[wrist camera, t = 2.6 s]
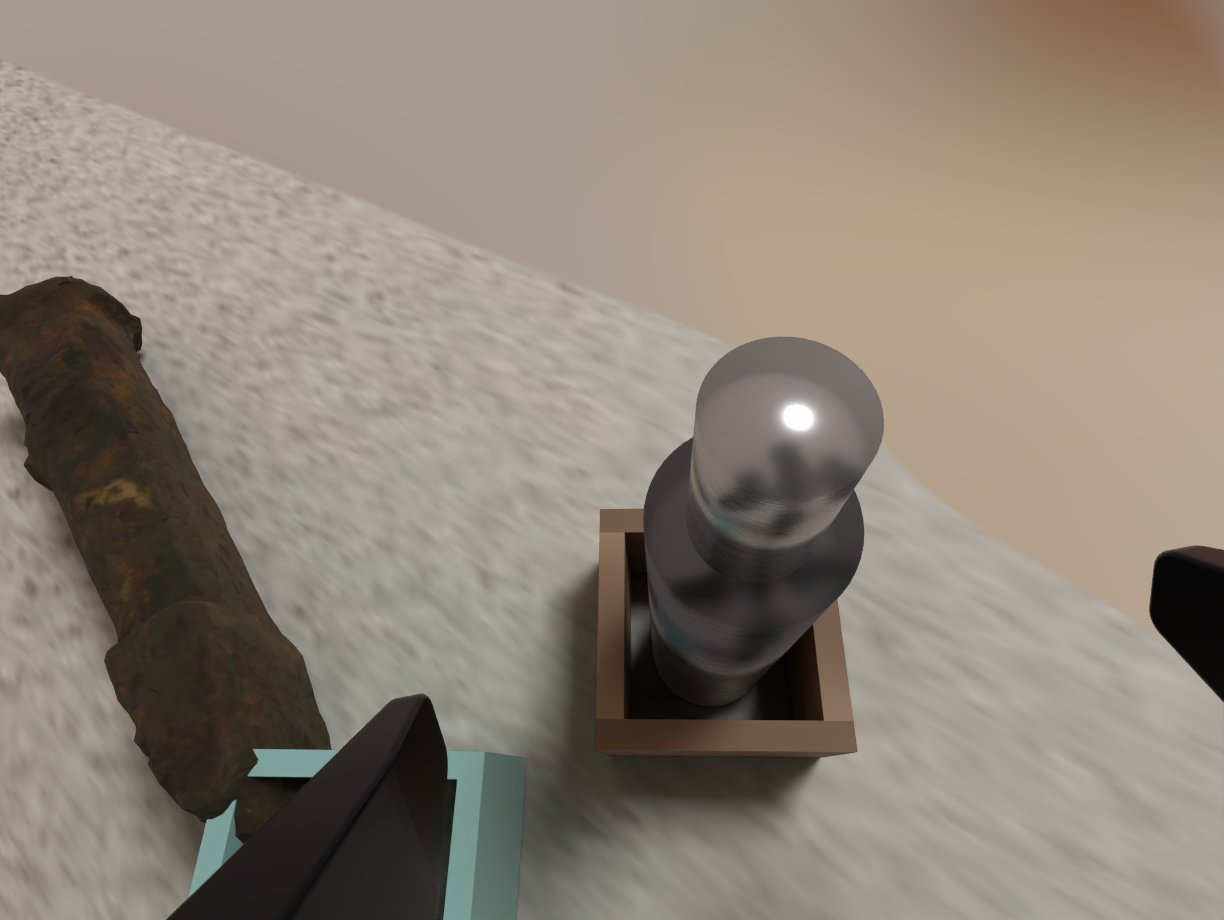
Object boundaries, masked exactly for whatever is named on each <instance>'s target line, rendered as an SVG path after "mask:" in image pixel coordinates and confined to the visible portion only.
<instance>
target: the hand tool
mask: <svg viewBox="0 0 1224 920" xmlns="http://www.w3.org/2000/svg"><path fill="white" fill-rule="evenodd" d="M141 334H142V326H141V321H140V318H138V317H136V316H133V315H131V314H130V313H129V311H128V310H127V309H126V308H125V306H124V305H123V304H122V303H121V302H119V301H118V300H117V299H115V298H114V297H113V296H111V295H110V294H109V293H107V292H106V291H105V290H104V289H102V288H101V287H98V286H95V285H91V284H89V283H87V282H85V281H84V280H82V279H75V278H73V277H72V276H70V277H54V278H51V279H48V280H45V281H42V282H39V283H37V284H33V285H29V286H26V287H24V288H22V289H20V290H18V291H16V292H14V293H12V294H9V295H0V372H1V374H2V375H3V376H4V377H5V378H6V381H7V383H8V386H9V389H10V391H11V393H12V395H13V397H14V399H15V403H16V405H17V407H18V408H19V410H20V412H21V414H22V416H23V418H24V421H25V424H26V427H27V428H26V435H25V442H24V445H25V446H26V447H27V449H28V453H29V456H28V458H27V459H26V461H25V463H24V466H25V468H26V469H27V471H28V472H29V473H30V475H31V476H32V477H33V478H34V480H35V481H37V482H38V483H40V484H41V485H43V486H44V487H46V488H48V489H49V490H51V491H52V492H54V494H55V496H56V498H57V500H58V502H59V503H60V506H61V508H62V510H63V512H64V514H65V516H66V519H67V521H68V524H69V526H70V529H71V531H72V534H73V537H74V540H75V542H76V544H77V546H78V549H79V551H80V553H81V555H82V557H83V559H84V562H85V564H86V567H87V569H88V572H89V574H90V577H91V579H92V581H93V583H94V585H95V587H96V589H97V591H98V593H99V595H100V597H101V599H102V601H103V603H104V605H105V607H106V609H107V611H108V613H109V615H110V617H111V619H112V621H113V623H114V626H115V629H116V632H117V634H118V643H117V644H116V645H114V646H113V647H112V648H111V649H109V650H108V651H107V654H106V657H105V660H104V661H105V664H106V668H107V671H108V674H109V677H110V680H111V682H112V684H113V686H114V689H115V693H116V696H117V699H118V701H119V702H120V704H121V705H122V706H123V708H124V709H125V710H126V711H127V712H128V714H129V715H130V717H131V718H132V720H133V722H134V724H135V726H136V734H135V739H134V742H135V743H136V744H137V745H138V746H139V747H140V749H141V750H142V752H143V753H144V754H145V755H146V756H147V757H149V762H148V765H149V767H150V768H151V770H152V772H153V774H154V775H155V777H156V779H157V780H158V782H159V784H160V785H161V786H162V787H163V788H164V789H165V790H166V791H167V792H168V794H169V795H170V796H171V797H172V798H173V800H174V801H175V802H176V803H177V804H178V805H179V806H180V807H181V808H182V809H184V810H186V811H188V812H190V813H192V814H194V815H196V816H197V817H198V818H199V820H200V821H202V822H204V823H206V821H207V820H208V819H214V818H216V817H218V816H220V815H222V814H223V813H224V812H225V811H226V810H227V809H228V808H229V806H230V805H231V803H232V802H233V801H234V800H236V807H235V813H234V820H235V829H236V831H235V837H237V838H238V839H239V840H240V841H241V842H242V843H243V844H244V843H245V842H246V841H247V840H248V839H249V838H250V837H251V836H252V835H253V834H254V833H256V832H257V831H258V830H259V829H260V828H261V827H262V826H263V825H264V824H265V823H266V822H267V821H268V820H269V819H270V818H271V817H272V816H273V815H274V814H275V813H276V812H277V811H278V810H279V809H280V808H281V807H282V806H283V805H284V804H285V803H286V802H287V801H288V800H289V799H290V798H291V797H292V796H293V795H294V794H296V793H297V792H298V791H299V790H300V789H301V788H302V787H303V786H304V785H305V784H306V783H307V782H308V781H309V780H310V779H311V778H312V777H265V776H248V774H249V773H250V772H251V770H252V769H253V767H254V766H255V765H256V764H257V761H258V760H259V759H258V758H257V756H256V754H255V753H254V751H253V749H294V750H332V749H331V746H330V738H329V734H328V731H327V727H326V724H325V722H324V720H323V718H322V716H321V715H320V713H319V710H318V707H317V703H316V700H315V697H314V693H313V688H312V685H311V682H310V679H309V676H308V673H307V669H306V666H305V662H304V659H303V656H302V655H301V653H300V652H299V651H298V649H297V648H296V647H295V646H294V645H293V644H292V643H291V642H290V641H289V640H288V639H287V638H286V637H285V636H284V635H282V633H281V632H280V630H279V629H278V627H277V626H276V625H275V623H274V622H273V620H272V619H271V618H270V616H269V615H268V613H267V610H266V608H265V606H264V604H263V602H262V600H261V598H260V596H259V594H258V592H257V590H256V589H255V586H254V584H253V582H252V580H251V578H250V576H249V573H248V571H247V569H246V567H245V565H244V562H243V560H242V558H241V556H240V554H239V552H238V550H237V548H236V546H235V544H234V542H233V540H232V538H231V536H230V534H229V532H228V530H227V527H226V523H225V521H224V518H223V516H222V514H221V512H220V510H219V508H218V506H217V504H216V502H215V501H214V499H213V498H212V496H211V495H210V493H209V492H208V490H207V489H206V487H205V486H204V484H203V482H202V480H201V478H200V475H199V473H198V471H197V469H196V467H195V466H194V464H193V462H192V460H191V457H190V454H189V452H188V449H187V446H186V444H185V443H184V441H183V439H182V436H181V434H180V432H179V429H178V427H177V425H176V422H175V420H174V417H173V414H172V413H171V411H170V410H169V409H168V408H167V407H166V406H165V404H164V403H163V401H162V399H161V397H160V395H159V393H158V391H157V389H156V388H155V387H154V386H153V385H152V383H151V381H150V379H149V377H148V375H147V373H146V371H145V370H144V368H143V367H142V365H141V363H140V361H139V358H138V356H137V353H136V352H137V351H139V350H141V346H142V335H141Z"/></svg>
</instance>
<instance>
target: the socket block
mask: <svg viewBox="0 0 1224 920" xmlns="http://www.w3.org/2000/svg"><path fill="white" fill-rule="evenodd" d="M643 515H644V509H600V542H599V589H598V636H597V682H596V729H595V750H598V751H600V752H602V753H604V754H606V755H650V756H739V757H828V756H835V755H842V754H849V753H855V752H857V745H856V737H855V729H854V722H853V714H852V707H851V699H850V692H849V684H848V676H847V669H846V661H845V654H844V646H843V639H842V631H841V623H840V616H839V608H838V601H837V599H836V600H835V602H834V603H833V604H832V605H831V606H830V607H829V608H828V609H827V610H826V611H825V612H824V613H823V614H822V615H821V616H820V617H819V618H818V619H817V620H816V621H815V622H814V623H813V624H812V625H811V626H810V627H809V629H808V630H807V631H806V632H805V633H804V634H803V635H802V636H801V637H800V638H799V639H798V640H797V641H796V642H795V643H794V644H793V645H792V646H791V647H790V648H789V649H788V650H787V658H788V669H789V679H790V689H791V700H792V710H793V720H675V719H631V573H647V565H646V552H645V539H644V525H643Z"/></svg>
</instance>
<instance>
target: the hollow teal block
mask: <svg viewBox="0 0 1224 920" xmlns="http://www.w3.org/2000/svg"><path fill="white" fill-rule="evenodd" d="M253 751H254V753H255V754H256V756H257V758H258V759H259V760H258V761H257V764H256V765H255V766H254V767H253V769H252V770H251V772H250V773H249V774H248V776H265V777H313V776H314V775H315V774H316V773H317V772H318V771H319V770H320V769H321V768H322V767H323V766H324V765H325V764H326V763H327V762H328V761H329V760H330V759H331V758H332V757H333V756H334V755H336V754H337V753H338V752H339V751H340V750H294V749H253ZM447 757H448V776H447V779H457V788H456V798H455V808H454V818H453V828H452V838H451V848H450V858H449V868H448V878H447V888H446V898H445V908H444V918H443V920H516V919H517V902H518V886H519V870H520V853H521V837H522V821H523V804H524V788H525V772H526V758H521V757H515V756H509V755H503V754H497V753H490V752H474V751H447ZM235 807H236V800H234V801H233V802H232V803H231V805H230V806H229V808H228V809H227V810H226V811H225V812H224V813H223V814H222V815H220V816H218V817H216V818H214V819H208V820H207V821H206V825H205V829H204V833H203V838H202V842H201V846H200V850H199V854H198V859H197V863H196V867H195V871H194V875H193V880H192V884H191V888H190V892H189V896H188V898H189V897H190V896H191V895H192V894H193V893H194V892H195V891H196V890H197V889H198V888H199V887H200V886H201V885H202V884H203V883H204V882H205V881H206V880H207V879H208V878H209V877H210V876H211V875H212V874H213V873H214V872H215V871H217V870H218V869H219V868H220V867H221V866H222V865H223V864H224V863H225V862H226V861H227V860H228V859H229V858H230V857H231V856H232V855H233V854H234V853H235V852H236V851H237V850H238V849H239V848H240V847H241V846H242V845H243V843H242V842H241V841H240V840H239V839H238V838H237V837H235V831H236V829H235V820H234V813H235Z"/></svg>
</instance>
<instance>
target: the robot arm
mask: <svg viewBox="0 0 1224 920" xmlns="http://www.w3.org/2000/svg"><path fill="white" fill-rule="evenodd" d="M1149 612H1150V617H1151V620H1152V622H1153V624H1154V626H1155V628H1156V629H1157V630H1158V632H1159V633H1160V634H1161V635H1162V636H1163V637H1164V638H1165V639H1166V641H1167V642H1168V643H1169V644H1170V645H1171V646H1172V647H1173V648H1174V649H1175V650H1176V651H1177V652H1178V653H1179V655H1180V656H1181V657H1182V658H1183V659H1184V660H1185V661H1186V662H1187V663H1188V664H1189V665H1190V666H1191V668H1192V669H1193V670H1194V671H1195V672H1196V673H1197V674H1198V675H1199V676H1200V677H1201V678H1202V679H1203V681H1204V682H1205V683H1206V684H1207V685H1208V686H1209V687H1210V688H1211V689H1212V690H1213V691H1214V692H1215V694H1216V695H1217V696H1218V697H1219V698H1220V699H1221V700H1222V701H1223V702H1224V550H1221V549H1215V548H1211V547H1205V546H1188V547H1183V548H1178V549H1173V550H1168V551H1164V552H1162V553H1161V554H1159V555H1158V557H1157V558H1156V560H1155V564H1154V569H1153V578H1152V588H1151V597H1150V606H1149ZM447 776H448V757H447V750H446V746H445V742H444V739H443V736H442V733H441V730H440V727H439V723H438V720H437V717H436V714H435V711H434V708H433V705H432V702H431V700H430V699H429V697H428V696H427V695H425V694H417V695H411V696H406V697H401V698H396V699H393V700H391V701H390V702H389V703H388V704H387V705H386V706H385V707H384V708H383V709H382V710H381V711H380V712H379V713H378V714H377V715H375V716H374V717H373V718H372V719H371V720H370V721H369V722H368V723H367V724H366V725H365V726H364V727H363V728H362V729H361V730H360V731H359V732H358V733H357V734H356V735H355V736H354V737H353V738H352V739H351V740H350V741H349V742H348V743H347V744H346V745H345V746H344V747H343V748H342V749H341V750H340V751H339V752H338V753H337V754H336V755H334V756H333V757H332V758H331V759H330V760H329V761H328V762H327V763H326V764H325V765H324V766H323V767H322V768H321V769H320V770H319V771H318V772H317V773H316V774H315V775H314V776H313V777H312V778H311V779H310V780H309V781H308V782H307V783H306V784H305V785H304V786H303V787H302V788H301V789H300V790H299V791H298V792H297V793H296V794H294V795H293V796H292V797H291V798H290V799H289V800H288V801H287V802H286V803H285V804H284V805H283V806H282V807H281V808H280V809H279V810H278V811H277V812H276V813H275V814H274V815H273V816H272V817H271V818H270V819H269V820H268V821H267V822H266V823H265V824H264V825H263V826H262V827H261V828H260V829H259V830H258V831H257V832H256V833H254V834H253V835H252V836H251V837H250V838H249V839H248V840H247V841H246V842H245V843H244V844H243V845H242V846H241V847H240V848H239V849H238V850H237V851H236V852H235V853H234V854H233V855H232V856H231V857H230V858H229V859H228V860H227V861H226V862H225V863H224V864H223V865H222V866H221V867H220V868H219V869H218V870H217V871H215V872H214V873H213V874H212V875H211V876H210V877H209V878H208V879H207V880H206V881H205V882H204V883H203V884H202V885H201V886H200V887H199V888H198V889H197V890H196V891H195V892H194V893H193V894H192V895H191V896H190V897H189V898H188V899H187V900H186V901H185V902H184V903H183V904H182V905H181V906H180V907H178V908H177V909H176V910H175V911H174V912H173V913H172V914H171V915H170V916H169V917H168V918H167V919H166V920H436V915H437V908H438V901H439V893H440V882H441V869H442V853H443V838H444V822H445V807H446V791H447Z"/></svg>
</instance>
